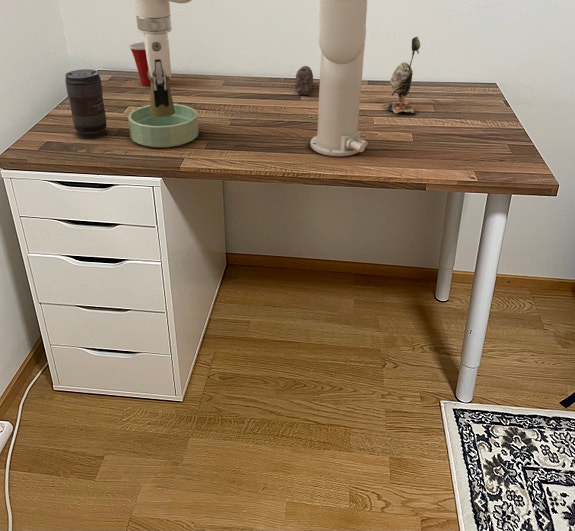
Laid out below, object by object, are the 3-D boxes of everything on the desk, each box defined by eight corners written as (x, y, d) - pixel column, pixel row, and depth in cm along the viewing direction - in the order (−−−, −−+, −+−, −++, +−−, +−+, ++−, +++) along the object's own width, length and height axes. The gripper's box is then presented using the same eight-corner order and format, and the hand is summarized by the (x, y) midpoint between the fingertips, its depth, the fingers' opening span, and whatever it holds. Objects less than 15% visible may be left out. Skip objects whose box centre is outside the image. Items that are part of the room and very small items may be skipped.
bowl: (212, 137, 154) (210, 116, 151) (153, 155, 144) (151, 132, 141) (174, 119, 164) (173, 99, 161) (118, 134, 155) (115, 113, 152)
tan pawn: (177, 109, 153) (174, 63, 147) (171, 117, 148) (167, 70, 142) (153, 107, 154) (149, 62, 148) (146, 116, 149) (141, 69, 143)
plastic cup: (158, 76, 196) (154, 37, 190) (176, 84, 189) (172, 44, 183) (126, 82, 190) (121, 42, 184) (144, 91, 183) (139, 49, 177)
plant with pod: (410, 102, 179) (419, 29, 168) (416, 116, 169) (426, 40, 158) (382, 102, 179) (389, 29, 168) (386, 115, 169) (394, 39, 158)
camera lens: (106, 126, 159) (97, 67, 151) (110, 137, 153) (101, 76, 145) (73, 129, 157) (62, 69, 149) (76, 141, 151) (65, 79, 142)
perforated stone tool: (298, 82, 193) (298, 59, 189) (314, 83, 193) (315, 60, 189) (293, 97, 181) (293, 73, 177) (311, 98, 180) (312, 74, 176)
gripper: (173, 31, 134) (179, 114, 144) (169, 15, 147) (175, 92, 157) (137, 32, 132) (146, 116, 142) (136, 16, 146) (145, 93, 156)
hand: (161, 102), depth 150 cm, fingers closed on tan pawn, 3 cm apart
